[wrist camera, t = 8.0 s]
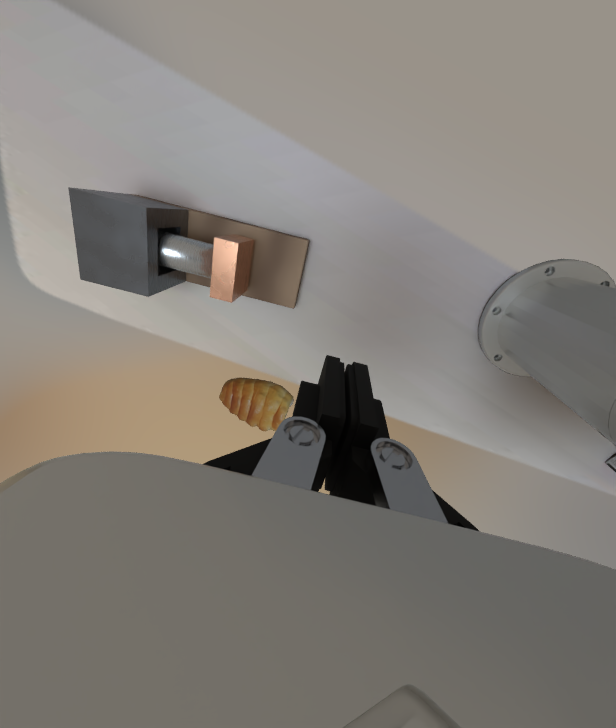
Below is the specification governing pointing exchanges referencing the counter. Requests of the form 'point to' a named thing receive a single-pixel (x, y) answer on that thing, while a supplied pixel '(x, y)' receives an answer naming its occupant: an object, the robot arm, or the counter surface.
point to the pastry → (257, 402)
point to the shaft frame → (145, 216)
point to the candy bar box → (612, 462)
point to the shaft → (210, 261)
